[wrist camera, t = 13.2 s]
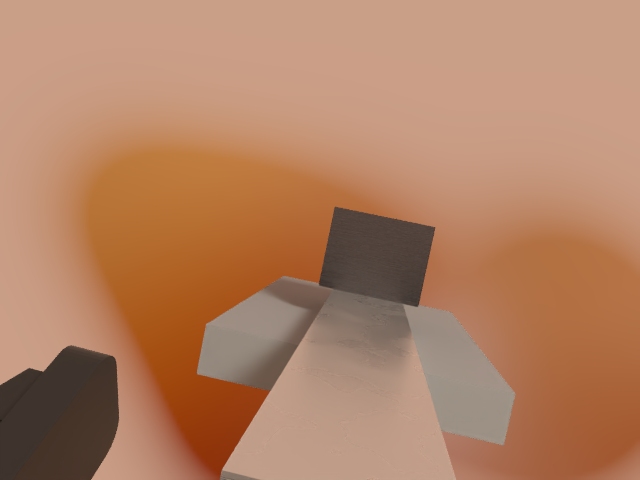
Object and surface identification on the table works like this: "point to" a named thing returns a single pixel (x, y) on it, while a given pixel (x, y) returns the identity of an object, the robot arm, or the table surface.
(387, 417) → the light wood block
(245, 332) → the gray stand
